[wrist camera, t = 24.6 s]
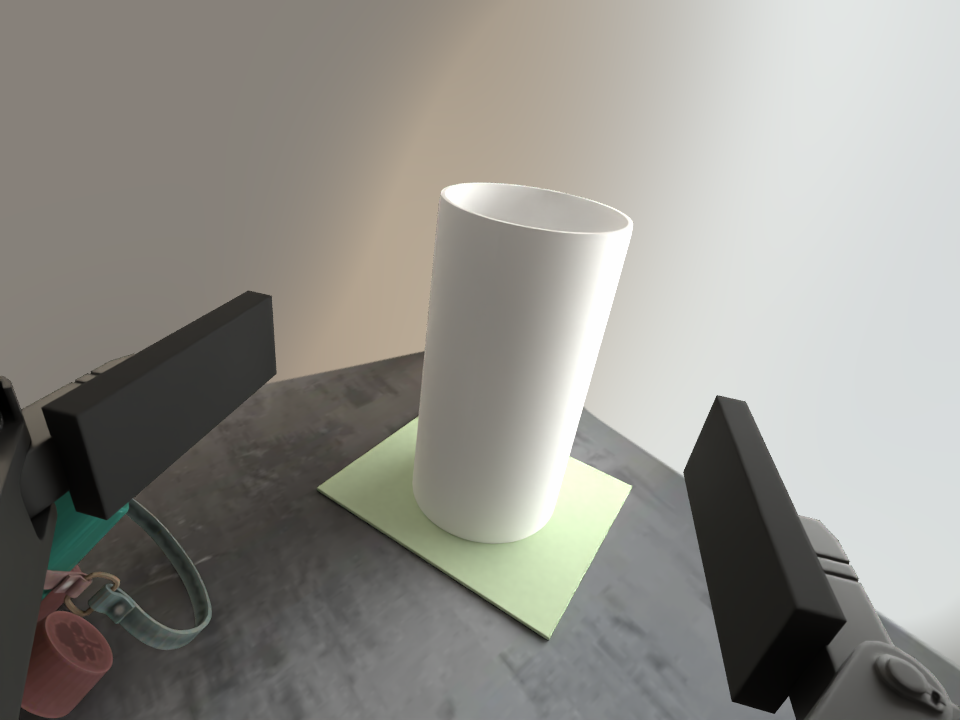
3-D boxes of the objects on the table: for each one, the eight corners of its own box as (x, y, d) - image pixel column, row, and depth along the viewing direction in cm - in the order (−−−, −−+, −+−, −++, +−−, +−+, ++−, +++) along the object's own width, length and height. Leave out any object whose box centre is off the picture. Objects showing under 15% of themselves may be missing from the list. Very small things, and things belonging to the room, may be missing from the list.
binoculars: (76, 581, 24) (-200, 499, 16) (236, 436, 26) (63, 307, 19) (142, 757, 18) (-227, 760, 11) (333, 553, 21) (147, 439, 13)
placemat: (316, 490, 28) (316, 487, 28) (445, 399, 37) (445, 396, 37) (548, 640, 22) (549, 637, 22) (631, 488, 31) (632, 486, 31)
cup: (571, 471, 32) (646, 210, 24) (528, 569, 25) (614, 249, 17) (452, 425, 34) (486, 175, 26) (383, 504, 27) (401, 197, 20)
